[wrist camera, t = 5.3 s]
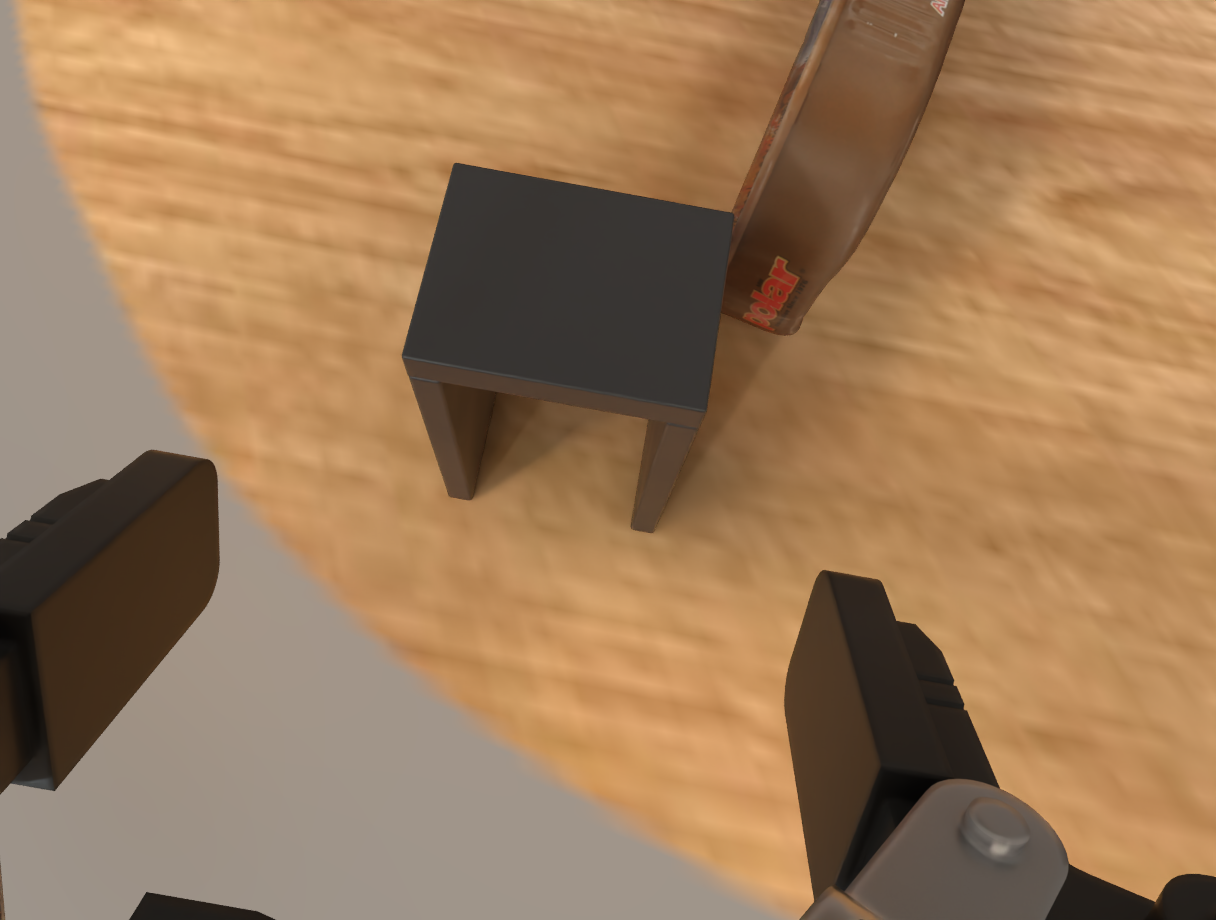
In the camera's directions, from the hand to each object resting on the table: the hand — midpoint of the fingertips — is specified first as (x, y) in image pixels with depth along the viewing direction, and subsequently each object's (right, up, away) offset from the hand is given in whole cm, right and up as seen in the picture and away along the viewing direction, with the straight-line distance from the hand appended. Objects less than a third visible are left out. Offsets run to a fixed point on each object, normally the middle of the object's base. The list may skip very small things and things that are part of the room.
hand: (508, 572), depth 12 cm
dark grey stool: (0, +2, +11) cm, 12 cm away
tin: (+7, +10, +15) cm, 19 cm away
